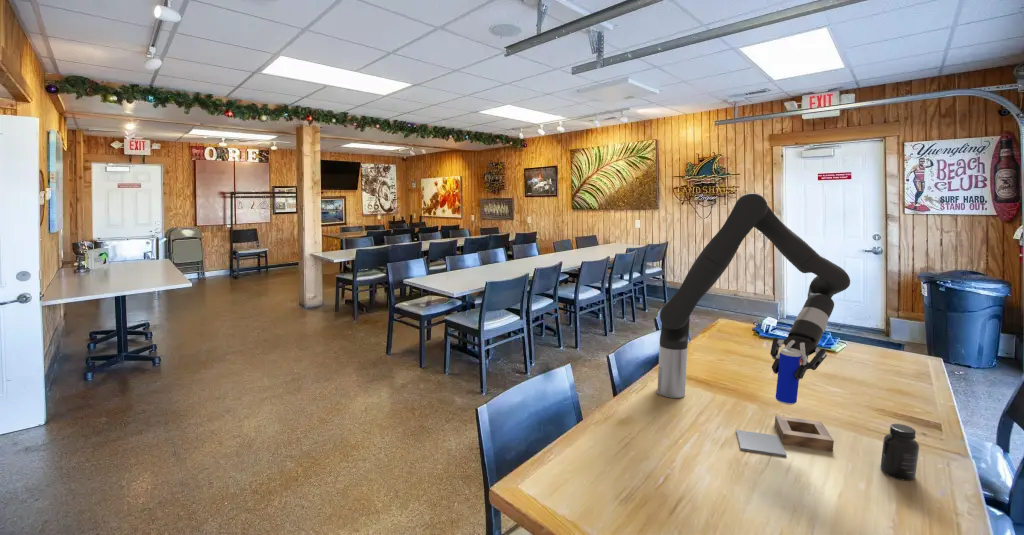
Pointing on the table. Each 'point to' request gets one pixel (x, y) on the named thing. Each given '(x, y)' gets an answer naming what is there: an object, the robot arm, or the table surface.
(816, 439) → the walnut holder
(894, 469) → the supplement bottle
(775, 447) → the slate coaster
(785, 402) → the beverage can
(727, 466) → the table surface
